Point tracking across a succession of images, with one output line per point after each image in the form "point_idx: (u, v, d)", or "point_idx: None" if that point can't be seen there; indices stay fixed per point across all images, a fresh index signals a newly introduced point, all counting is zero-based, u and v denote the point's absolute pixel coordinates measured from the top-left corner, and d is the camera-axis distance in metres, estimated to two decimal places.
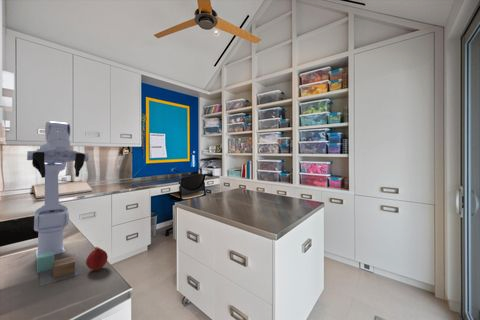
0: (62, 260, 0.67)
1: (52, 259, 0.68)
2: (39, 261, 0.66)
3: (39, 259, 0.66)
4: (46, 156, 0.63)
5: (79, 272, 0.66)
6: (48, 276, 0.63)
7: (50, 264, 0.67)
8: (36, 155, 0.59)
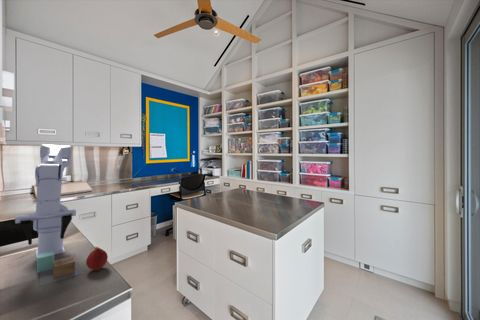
0: (62, 260, 0.67)
1: (52, 259, 0.68)
2: (39, 261, 0.66)
3: (39, 259, 0.66)
4: (34, 219, 0.66)
5: (79, 272, 0.66)
6: (48, 276, 0.63)
7: (50, 264, 0.67)
8: (23, 228, 0.63)
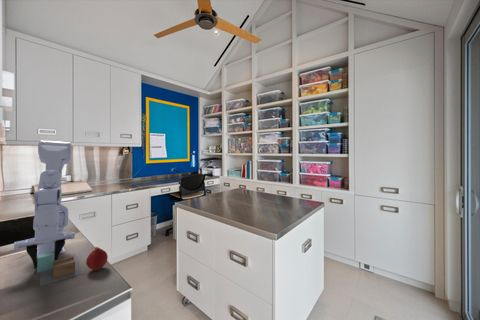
0: (62, 260, 0.67)
1: (52, 259, 0.68)
2: (39, 261, 0.66)
3: (39, 259, 0.66)
4: (33, 244, 0.66)
5: (79, 272, 0.66)
6: (48, 276, 0.63)
7: (50, 264, 0.67)
8: (29, 253, 0.64)
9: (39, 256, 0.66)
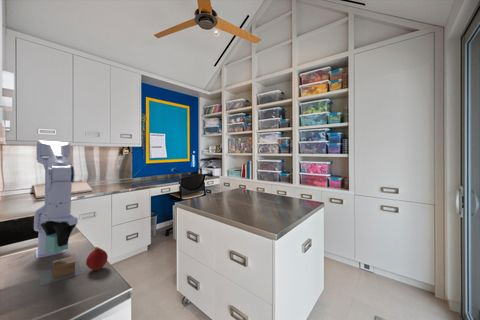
0: (62, 260, 0.67)
1: (53, 241, 0.64)
2: (46, 239, 0.65)
3: (46, 237, 0.65)
4: None
5: (79, 272, 0.66)
6: (48, 276, 0.63)
7: (51, 246, 0.64)
8: (42, 227, 0.66)
9: (51, 234, 0.66)
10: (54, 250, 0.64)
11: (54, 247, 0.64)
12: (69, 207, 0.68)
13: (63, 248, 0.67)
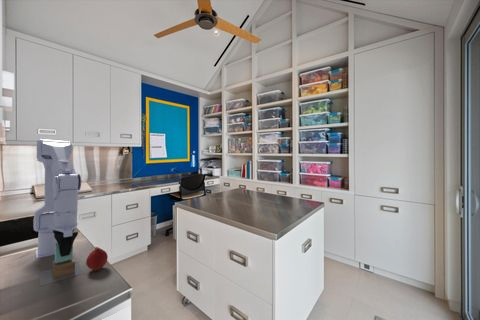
0: None
1: (55, 251, 0.64)
2: (55, 247, 0.66)
3: (55, 245, 0.66)
4: None
5: (79, 272, 0.66)
6: (48, 276, 0.63)
7: (55, 255, 0.64)
8: (54, 233, 0.67)
9: None
10: (56, 260, 0.63)
11: (56, 257, 0.63)
12: (72, 216, 0.66)
13: (67, 258, 0.65)
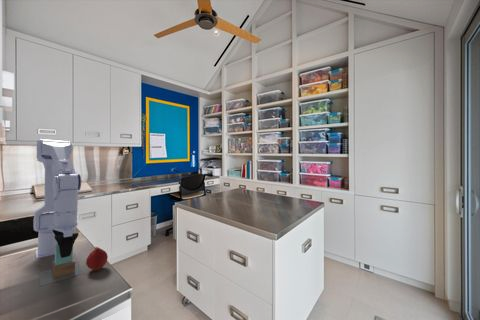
0: None
1: (55, 253, 0.64)
2: (55, 249, 0.66)
3: (55, 247, 0.66)
4: None
5: (79, 272, 0.66)
6: (48, 276, 0.63)
7: (55, 257, 0.64)
8: (54, 232, 0.68)
9: None
10: (56, 262, 0.63)
11: (56, 259, 0.63)
12: (72, 217, 0.66)
13: (66, 261, 0.65)
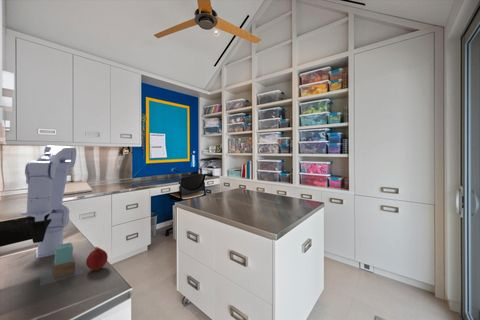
0: None
1: (55, 253, 0.64)
2: (55, 249, 0.66)
3: (55, 247, 0.66)
4: None
5: (79, 272, 0.66)
6: (48, 276, 0.63)
7: (55, 257, 0.64)
8: None
9: None
10: (56, 262, 0.63)
11: (56, 259, 0.63)
12: (46, 203, 0.67)
13: (66, 261, 0.65)
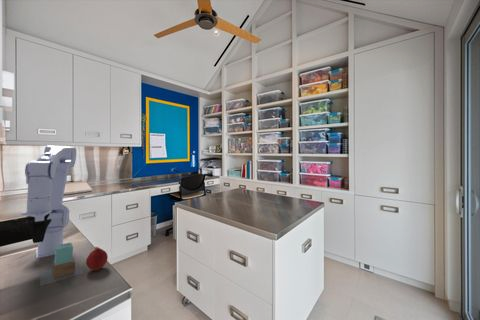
0: None
1: (55, 253, 0.64)
2: (55, 249, 0.66)
3: (55, 247, 0.66)
4: None
5: (79, 272, 0.66)
6: (48, 276, 0.63)
7: (55, 257, 0.64)
8: None
9: None
10: (56, 262, 0.63)
11: (56, 259, 0.63)
12: (46, 203, 0.67)
13: (66, 261, 0.65)
